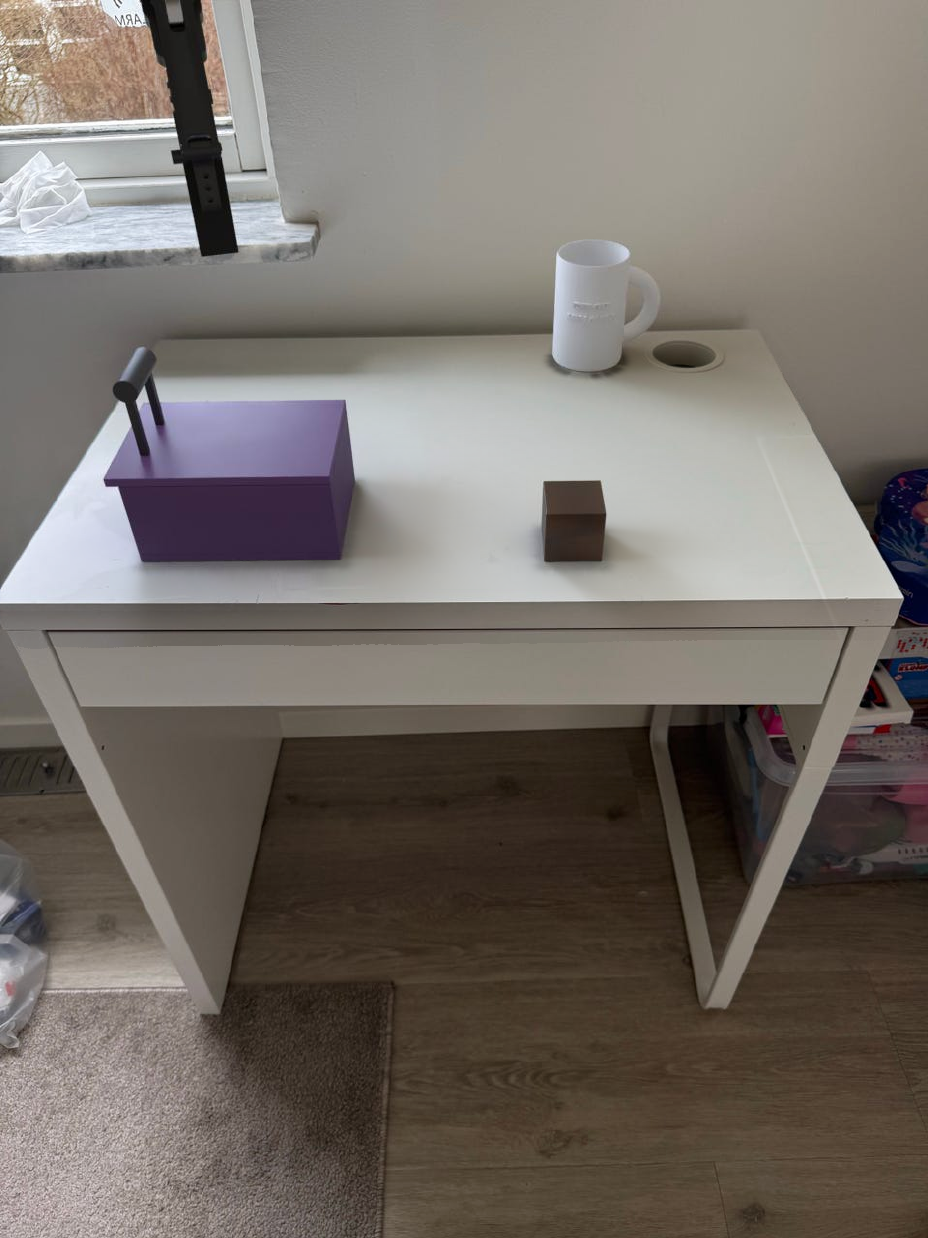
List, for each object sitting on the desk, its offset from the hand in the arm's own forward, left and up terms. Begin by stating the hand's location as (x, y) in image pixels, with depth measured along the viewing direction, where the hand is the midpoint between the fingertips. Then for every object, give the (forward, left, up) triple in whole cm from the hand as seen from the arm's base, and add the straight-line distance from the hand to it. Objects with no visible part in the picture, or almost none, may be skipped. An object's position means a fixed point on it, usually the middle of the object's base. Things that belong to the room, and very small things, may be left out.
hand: (212, 222), depth 75 cm
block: (+30, +4, -25) cm, 39 cm away
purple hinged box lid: (+2, -5, -17) cm, 18 cm away
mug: (+20, +39, -25) cm, 51 cm away
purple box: (+2, -5, -25) cm, 25 cm away
